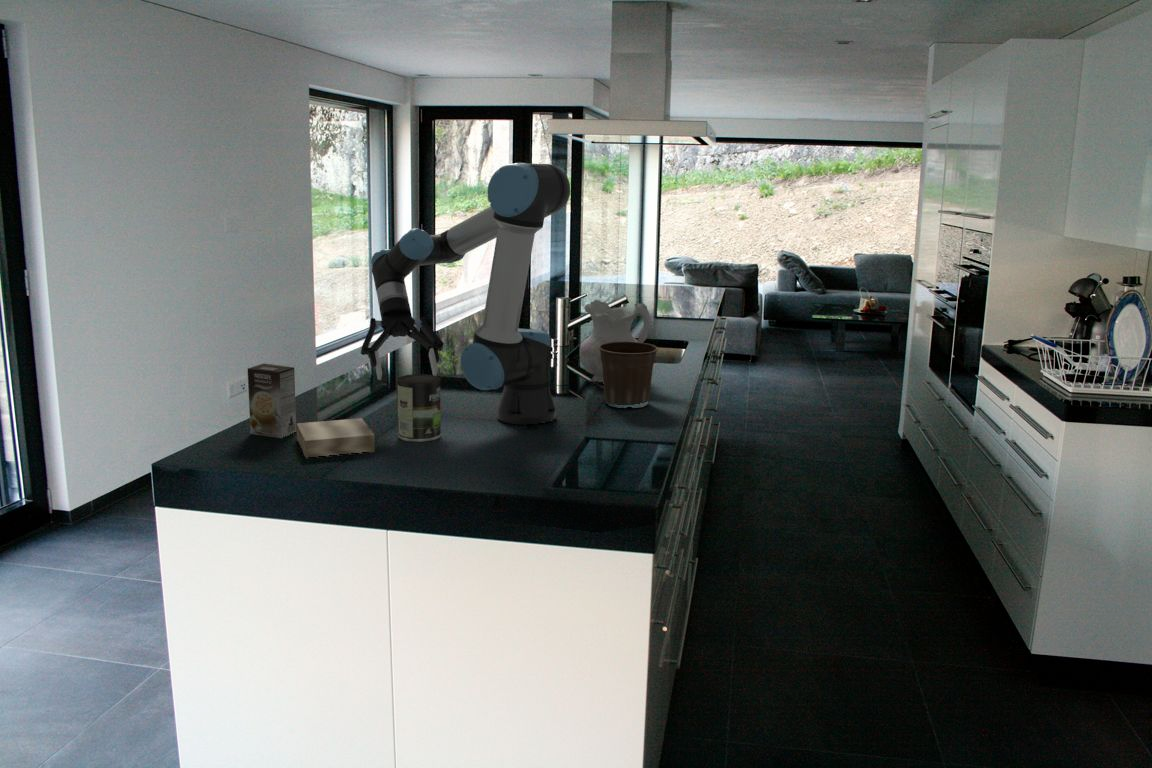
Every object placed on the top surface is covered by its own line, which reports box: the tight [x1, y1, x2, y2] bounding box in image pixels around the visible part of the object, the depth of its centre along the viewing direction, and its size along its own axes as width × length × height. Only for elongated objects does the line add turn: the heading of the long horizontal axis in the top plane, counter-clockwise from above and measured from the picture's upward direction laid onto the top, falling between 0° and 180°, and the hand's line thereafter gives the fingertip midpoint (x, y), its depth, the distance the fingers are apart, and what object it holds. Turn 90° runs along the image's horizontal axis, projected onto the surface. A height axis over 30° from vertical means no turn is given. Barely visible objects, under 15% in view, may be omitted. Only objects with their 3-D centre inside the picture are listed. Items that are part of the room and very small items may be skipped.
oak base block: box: [296, 417, 376, 459], centre depth 216 cm, size 15×15×4 cm
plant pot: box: [598, 342, 659, 405], centre depth 259 cm, size 16×16×16 cm
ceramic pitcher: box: [579, 299, 651, 382], centre depth 286 cm, size 22×20×25 cm
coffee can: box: [395, 373, 442, 443], centre depth 224 cm, size 10×10×14 cm
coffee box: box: [247, 363, 297, 439], centre depth 223 cm, size 9×6×16 cm
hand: (408, 375), depth 229 cm, fingers open, 13 cm apart
